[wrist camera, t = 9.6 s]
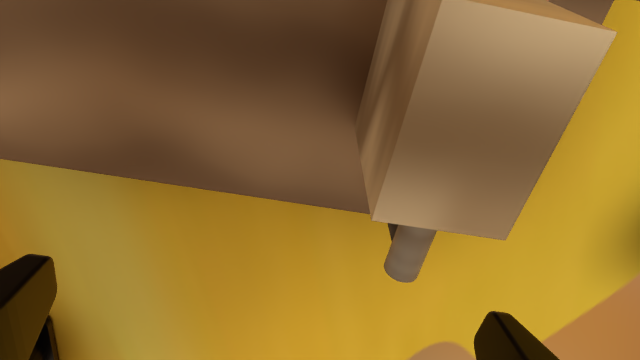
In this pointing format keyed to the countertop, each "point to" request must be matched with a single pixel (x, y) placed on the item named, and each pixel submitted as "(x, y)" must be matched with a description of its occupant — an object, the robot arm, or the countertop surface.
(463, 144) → the block
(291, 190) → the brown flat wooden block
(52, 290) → the robot arm
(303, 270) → the countertop surface
